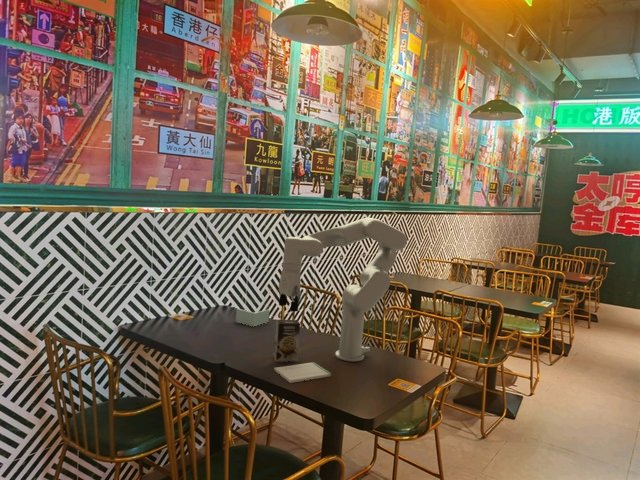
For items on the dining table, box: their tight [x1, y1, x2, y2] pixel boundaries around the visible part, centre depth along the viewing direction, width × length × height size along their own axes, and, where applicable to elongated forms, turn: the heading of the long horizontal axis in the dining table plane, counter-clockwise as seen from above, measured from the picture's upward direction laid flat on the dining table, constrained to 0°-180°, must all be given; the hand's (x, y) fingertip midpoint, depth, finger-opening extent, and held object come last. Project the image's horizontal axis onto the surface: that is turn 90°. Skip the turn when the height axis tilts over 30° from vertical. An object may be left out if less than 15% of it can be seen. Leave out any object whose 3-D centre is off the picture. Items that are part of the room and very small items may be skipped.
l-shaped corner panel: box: [235, 308, 270, 328], centre depth 247 cm, size 12×12×8 cm
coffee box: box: [272, 319, 301, 363], centre depth 196 cm, size 9×6×16 cm
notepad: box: [273, 361, 332, 384], centre depth 183 cm, size 18×13×1 cm
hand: (288, 308), depth 195 cm, fingers open, 9 cm apart
